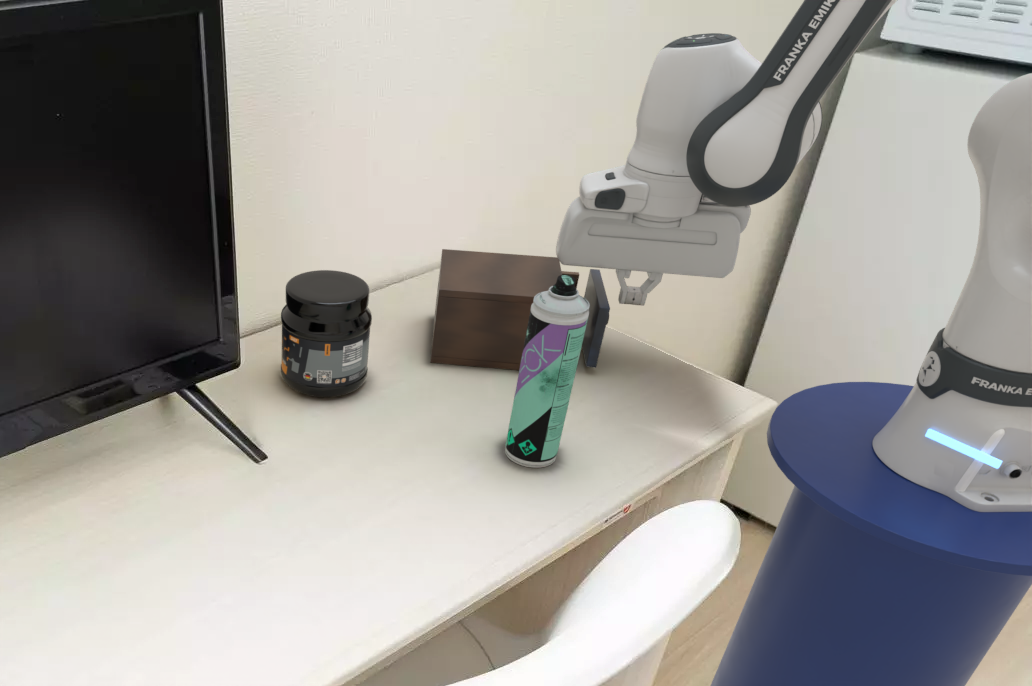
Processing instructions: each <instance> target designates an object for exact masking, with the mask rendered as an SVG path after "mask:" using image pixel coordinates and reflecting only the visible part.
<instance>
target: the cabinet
mask: <svg viewBox="0 0 1032 686" xmlns="http://www.w3.org/2000/svg"><path fill="white" fill-rule="evenodd" d="M440 256H441V257H440V264H439V272H438V273H439V274H438V280H437V281H438V282H437V291H436V299H435V305H434V306H435V308H434V315H433V325H432V326H433V327H432V338H431V350H430V363H432V364H441V365H454V366H467V367H477V368H487V369H488V368H489V369H500V370H511V371H519V369H520V364H521V358H522V353H523V348H524V342H525V337H526V331H527V326H528V321H529V315H530V310H531V305H532V303H533V300H534V297H535V296H536V295H537V294H538V293H541V292H544V291H548V290H549V288H550V287H551V286H553V285H555V284H556V281H557V277H558V276H560V275H562V272H561V271H562V267H561V266H562V265H561V262H560V261H559V259H558V258H557V256H543V255H541V256H540V255H528V254H514V253H499V252H489V251H488V252H487V251H473V250H461V249H449V248H448V249H446V248H442V249H441V255H440Z"/></svg>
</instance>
